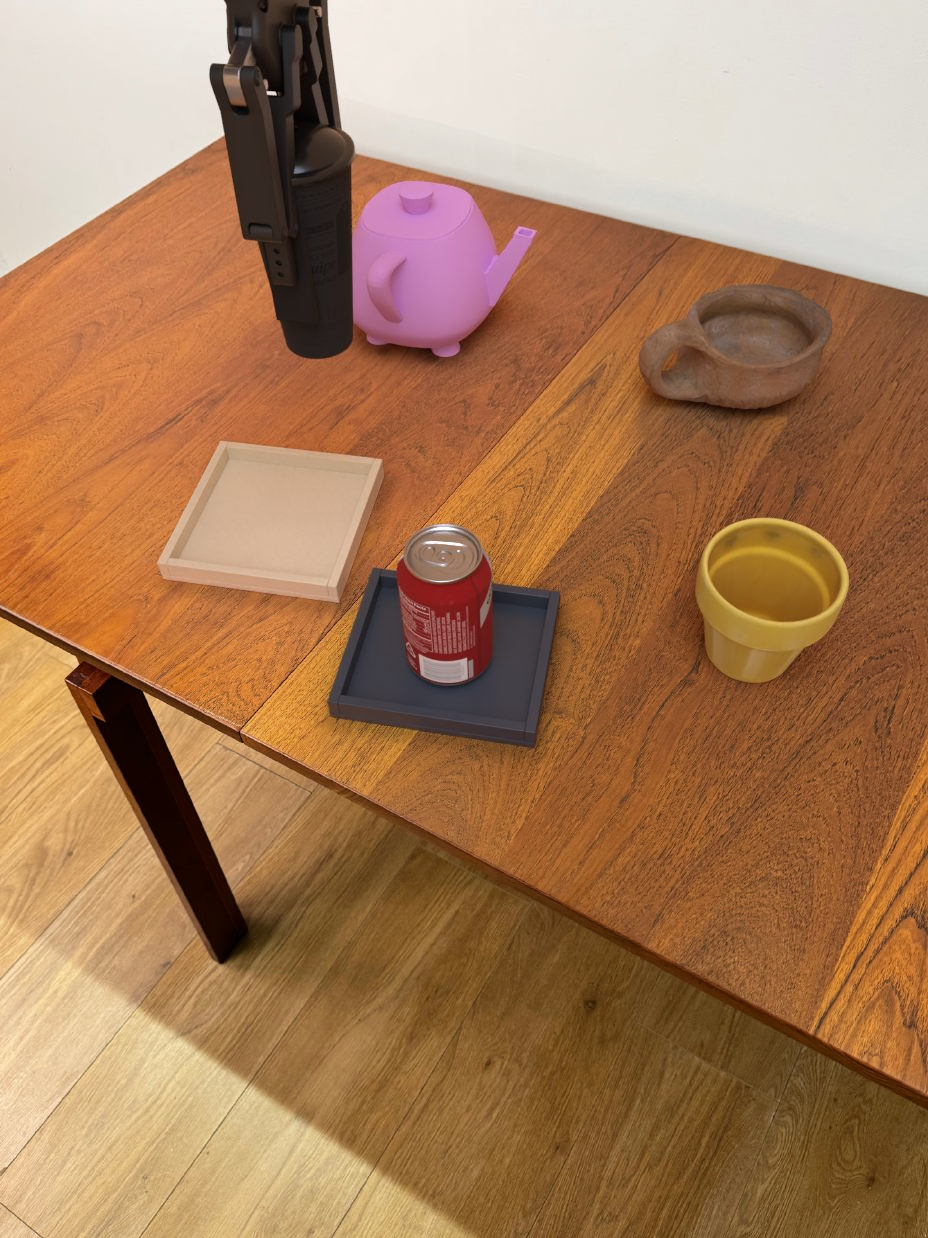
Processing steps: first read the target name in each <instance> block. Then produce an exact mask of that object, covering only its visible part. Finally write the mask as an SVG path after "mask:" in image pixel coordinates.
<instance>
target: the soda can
mask: <svg viewBox="0 0 928 1238" xmlns="http://www.w3.org/2000/svg"><path fill="white" fill-rule="evenodd" d="M396 574H397V583H398V592H399V600H400V608H401V616H402V624H403V633H404V641H405V649H406V657H407V661H408V663H409V665H410V667H411V669H412V670H413V671H414V672H415V673H416V674H417V675H418V676H419V677H420V678H422V679H423V680H425V681H427V682H430V683H433V684H436V685H442V686H455V685H460V684H464V683H467V682H469V681H472V680H473V679H475V678H477V677H478V676H479V675H481V674H482V673H483V672H484V671H485V669H486V668H487V667H488V665H489V663H490V661H491V658H492V654H493V617H492V583H493V564H492V560H491V558H490V556H489V554H488V552H487V551H486V550H485V549H484V548H483V545H482V542H481V540H480V539H479V537H478V536H477V535H476V534H475V533H474V532H473V531H471V530H470V529H468V528H466V527H464V526H461V525H459V524H454V523H436V524H431V525H430V524H429V525H427V526H425V527H422V528H421V529H419V530H417V531H416V532H414V533H413V534H412V535H411V536H410V537H409V538H408V539H407V541H406V543H405V544H404V548H403V552H402V554H401V555H400V557H399V559H398V562H397V564H396Z"/></svg>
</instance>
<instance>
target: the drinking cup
mask: <svg viewBox="0 0 928 1238" xmlns="http://www.w3.org/2000/svg"><path fill="white" fill-rule="evenodd" d="M284 93H285V92H278V95H279V96H284ZM293 127H294V148H295V170H294V175H293V177H292V186H293V187H294V188H295V193H296V199H297V210H298V225H299V228H305V233H306V238H307V243H308V249H309V255H310V262H311V269H312V275H313V282H314V289H315V296H316V302H317V309H318V316H319V319H318V321H317V323H316V324H308V323H298V322H289V321H280V320H279V323H280V327H281V330H282V333H283V337H284V340H285V344H286V347H287V348H288V350H289V351H290V352H291V353H292V354H294V355H296V356H298V357H301V358H303V359H304V358H305V359H309V360H322V359H323V360H324V359H329V358H334V357H336V356H338V355H340V354H342V353H343V352H345V351H346V350H348V349H349V348H350V347H351V345H352V343H353V341H354V322H353V266H352V235H353V205H352V204H353V197H352V196H353V190H352V189H353V187H352V182H353V181H352V164H353V162H354V160H355V157H356V147H355V142H354V140H353V138H352V137H351V136H350V134H348V133H347V132H346V131H345V130H344V129H342V130H341V129H339V128H337V127H334V126H331V125H328V124H326V125H323V124H320V123H317V122H313V121H308V120H297V119H295V120H294V119H293ZM295 130H297V131H295ZM256 242H257V246H258V250H259V252H260V257H261V260H262V263H263V267H264V270H265V274H266V277H267V281H268V285H269V288H270V289H271V287H270V281H269V276H268V271H267V265H266V260H265V255H264V249H263V244H262V241H256Z"/></svg>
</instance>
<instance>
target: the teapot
mask: <svg viewBox="0 0 928 1238" xmlns="http://www.w3.org/2000/svg"><path fill="white" fill-rule="evenodd" d="M537 234H538V230H536V229H532V228H529V227H524V226H520V225H518V226H517V228H516V230H515V231H514V232H513V236H512V237H511V239H510V240H509V241H508V243H507V245H505V247H504V249H503V250H502V251H501V253H500V254H499V252H498V249H497V244H496V241H495V239H494V235H493V232H492V230H491V228H490V227H489V224H488V222H487V221H486V219H485V217H484V215H483V213H482V211H481V210H480V208H479V206H478V204H477V203H476V201H475V200H474V198H473V196H472V195H471V194H470V193H469V192H467V191H466V190H464V189H463V188H460V187H457V186H454V185H451V184H450V185H449V184H445V183H439V182H432V181H423V180H404V181H399V182H395V183H393V184H390V185H388V186H386V187H384V188H383V189H381V190H380V191H378V192H377V193H376V194H375V195H374V196H373V197H372V198H371V199H370V200H369V201H368V202H367V203H366V204H365V206H364V208H363V209H362V211H361V214H360V216H359V218H358V220H357V222H356V225H355V228H354V230H353V232H352V266H353V324H355V326H357V327H358V328H359V329H360V330H361V331H362V332H364V333H365V334H366V340H367V342H369V343H370V344H373V345H376V346H381V345H382V346H384V345H387V344H394V345H398V346H403V347H410V348H420V349H430V350H431V352H432V354H434V356H438V357H442V358H451V357H453V356H456V355H457V354H458V353H459V352H460V350H461V345H460V342H461V341H463V340H464V339H466V338H467V337H469V335H471V334H472V333H473V332H474V331H475V330H476V329H478V327H479V326H480V325H482V323H483V322H484V320H485V319H486V318H487V317H488V316H489V315H490V313H491V312H492V309H494V307H495V306H496V304H497V303H498V302H499V299H500V298H501V296H502V295H503V293H504V292H505V290H506V288H507V287H508V286H509V283H510V282H511V280H512V278H513V277H514V275H515V274H516V271H517V270H518V267H519V266H520V264H521V262H522V261H523V259H524V257H525V256H526V253H527V252H528V250H529V249H530V247H531V245H532V244H533V242H534V240H535V238H536V236H537Z"/></svg>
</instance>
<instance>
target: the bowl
mask: <svg viewBox="0 0 928 1238" xmlns="http://www.w3.org/2000/svg"><path fill="white" fill-rule="evenodd" d="M832 333H833V319H832V316H831V314H830V312H828V310H827V309H825V308H824V307H823V306H822V304H820V303H818V302H817V301H816V300H813V299H811V298H809V297H808V296H805V295H804V294H803V293H801V292H799V291H798V290H796V289H792V288H788V287H783V286H776V285H772V284H760V283H751V284H749V283H748V284H735V285H727V286H723V287H720V288H719V287H718V288H717V289H715V290H714V291H709V292H706V293H703V295H701V297H699V298H698V299H697V300H696V301H695V302H694V303H693V304H692V305H691V308H689V311H688V312H687V315H686V317H685V318H682V319H679V320H676V321H671V322H669V323H667V324H664V325H662V326H660V327H659V328H656V329H655V330H654V331H652V333H650V334H649V335H648V337H646V339H645V340H644V341H643V343H642V345H641V347H640V349H639V353H638V369H639V372H640V375H641V377H642V379H643V381H644V383H645V385H646V386H647V387H648V389H649V390H651V391H652V393H654V394H655V395H657V396H659V397H662V398H665V399H668V400H672V401H673V400H675V401H689V402H695V403H706V404H708V405H710V406H720V407H723V408H731V409H740V410H748V409H752V410H757V409H759V408H763V409H764V408H770V407H772V406H774V405H780V404H781V403H783V402H786V401H789V400H791V399H793V398H794V397H798V396H799V395H800V394H801V393H802V392H803V391H805V390H806V389H807V388H808V387H809V385H810V383H811V382H812V381H813V380H814V379H815V377H816V375H817V372H818V370H819V368H820V365H821V361H822V359H823V358H822V357H823V354H824V349H825V348H826V346H827V344H828V342H829V341H830V338H831V335H832ZM676 351H677V353H676V354H677V355H676V360H675V362H674V364H673V365H672V366H671V367H670V368H668V369H666V370H664V369H663V368H664V365H665V363H666V362H667V360H668V359H669V358H670V357H671V356H672V355H673V354H674V353H675V352H676ZM662 369H663V370H662Z"/></svg>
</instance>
